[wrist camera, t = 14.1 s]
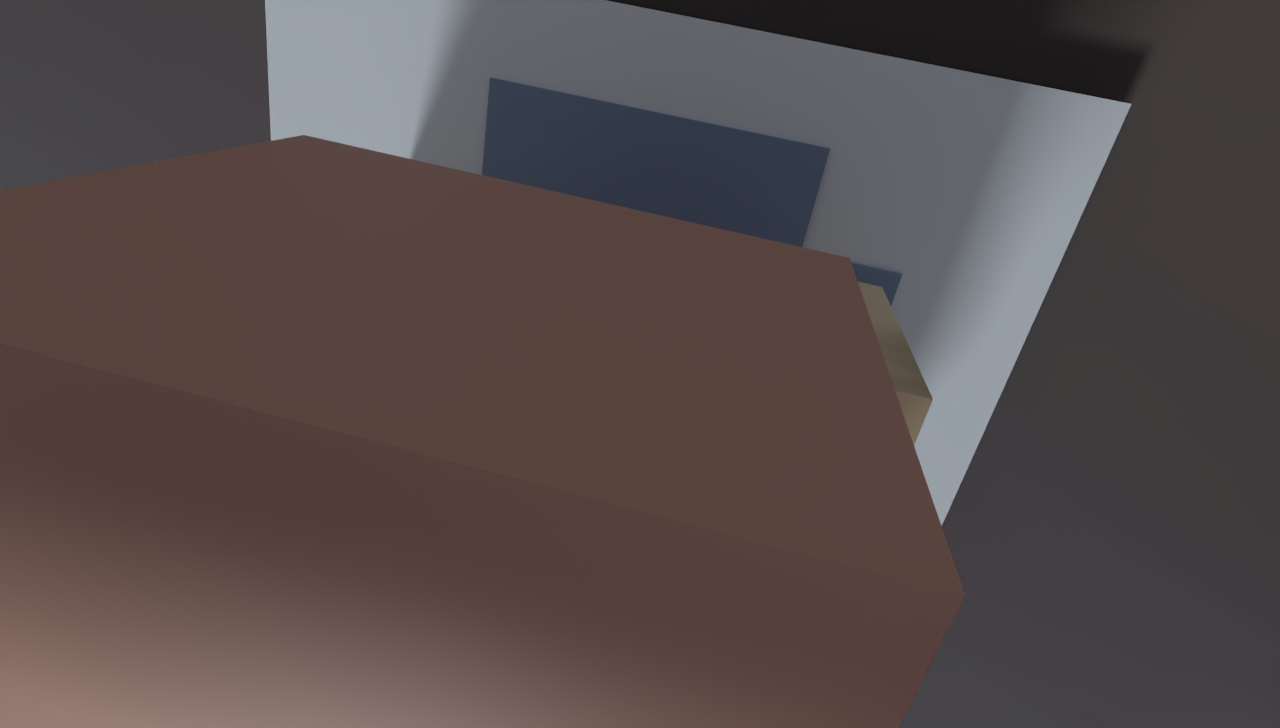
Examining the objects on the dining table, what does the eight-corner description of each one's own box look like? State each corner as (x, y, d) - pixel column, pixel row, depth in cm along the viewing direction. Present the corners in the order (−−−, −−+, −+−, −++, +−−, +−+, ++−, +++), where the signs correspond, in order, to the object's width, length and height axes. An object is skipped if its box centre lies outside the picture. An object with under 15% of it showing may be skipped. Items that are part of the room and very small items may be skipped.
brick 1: (304, 134, 8) (-349, 252, 3) (849, 258, 7) (965, 596, 3) (316, 741, 12) (40, 1154, 8) (661, 845, 12) (587, 1354, 7)
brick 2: (881, 287, 14) (932, 399, 10) (797, 527, 17) (806, 705, 12) (403, 177, 15) (240, 233, 10) (393, 423, 17) (259, 553, 13)
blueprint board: (1111, 100, 13) (1134, 104, 12) (869, 654, 19) (873, 682, 18) (288, -62, 14) (258, -69, 13) (304, 504, 20) (285, 523, 19)
